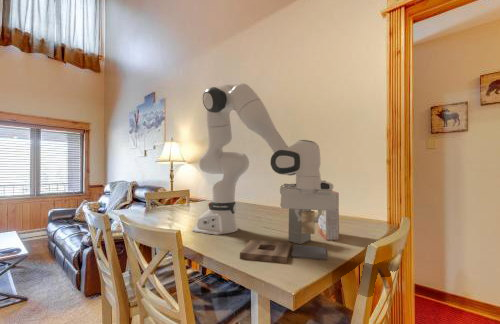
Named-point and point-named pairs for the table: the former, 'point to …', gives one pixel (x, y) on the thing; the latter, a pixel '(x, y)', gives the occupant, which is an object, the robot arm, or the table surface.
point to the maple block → (308, 222)
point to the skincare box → (297, 228)
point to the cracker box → (330, 222)
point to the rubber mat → (309, 252)
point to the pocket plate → (266, 251)
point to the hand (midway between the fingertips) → (308, 221)
